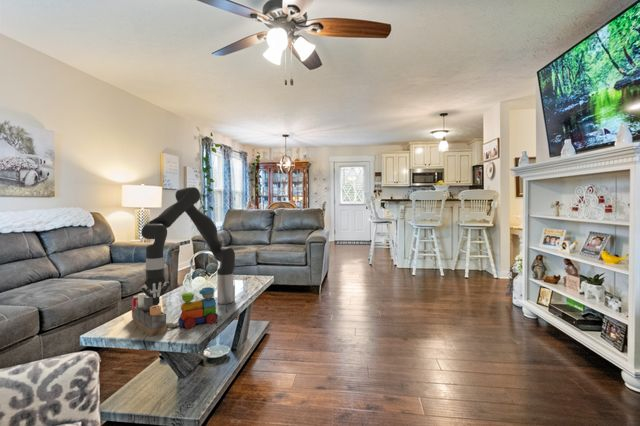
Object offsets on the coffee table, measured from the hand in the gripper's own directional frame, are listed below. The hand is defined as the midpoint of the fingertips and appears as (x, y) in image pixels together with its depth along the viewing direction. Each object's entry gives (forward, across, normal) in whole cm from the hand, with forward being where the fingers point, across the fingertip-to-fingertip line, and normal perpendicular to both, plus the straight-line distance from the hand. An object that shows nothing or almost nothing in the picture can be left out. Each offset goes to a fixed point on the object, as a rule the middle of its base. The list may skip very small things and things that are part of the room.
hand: (155, 305), depth 145 cm
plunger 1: (+4, 0, -15) cm, 16 cm away
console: (+12, 0, -8) cm, 15 cm away
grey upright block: (+4, 0, -8) cm, 9 cm away
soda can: (+13, -1, -24) cm, 27 cm away
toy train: (+13, -15, +2) cm, 20 cm away
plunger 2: (+7, 0, 0) cm, 7 cm away
